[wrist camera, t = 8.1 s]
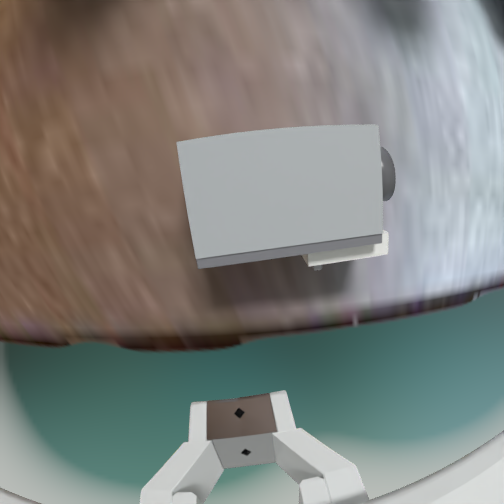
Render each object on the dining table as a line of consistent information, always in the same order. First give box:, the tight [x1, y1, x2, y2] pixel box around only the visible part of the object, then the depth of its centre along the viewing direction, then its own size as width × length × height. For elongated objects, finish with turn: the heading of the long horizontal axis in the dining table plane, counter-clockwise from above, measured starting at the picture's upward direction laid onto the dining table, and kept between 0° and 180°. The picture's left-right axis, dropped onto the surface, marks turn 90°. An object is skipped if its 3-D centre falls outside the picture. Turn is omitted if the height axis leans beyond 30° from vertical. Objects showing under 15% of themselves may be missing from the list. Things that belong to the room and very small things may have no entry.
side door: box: [302, 230, 388, 270], centre depth 22 cm, size 6×2×5 cm, turn 97°
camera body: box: [177, 125, 395, 269], centre depth 21 cm, size 14×8×7 cm, turn 97°
